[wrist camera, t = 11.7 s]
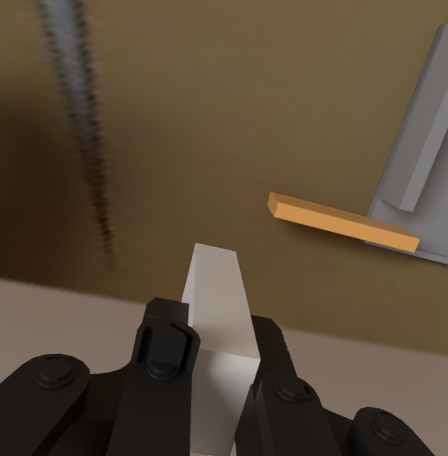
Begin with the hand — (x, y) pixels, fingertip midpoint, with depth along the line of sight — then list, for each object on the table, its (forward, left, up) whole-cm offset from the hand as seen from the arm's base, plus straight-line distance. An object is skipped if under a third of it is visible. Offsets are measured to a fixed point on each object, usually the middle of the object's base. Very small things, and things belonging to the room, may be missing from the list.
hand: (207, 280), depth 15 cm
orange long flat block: (+11, 0, -21) cm, 24 cm away
